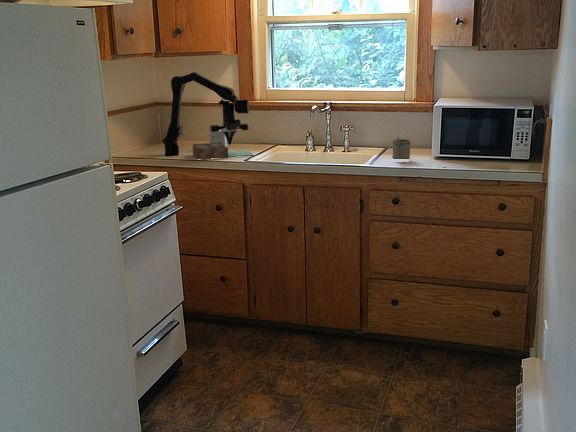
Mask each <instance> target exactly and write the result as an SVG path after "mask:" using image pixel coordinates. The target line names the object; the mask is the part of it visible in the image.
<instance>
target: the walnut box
mask: <svg viewBox="0 0 576 432" xmlns="http://www.w3.org/2000/svg"><path fill="white" fill-rule="evenodd" d="M228 152H229V147H228V146H227V147H226V146H224V145H223V144H222V143H209V142H208V143H194V144H192V155H193V157H194V158H195V157H196V158H197V159H211V158H228ZM196 158H195V159H196ZM197 159H196V160H197ZM228 159H229V158H228Z"/></svg>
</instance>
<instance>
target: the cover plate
mask: <svg viewBox="0 0 576 432" xmlns="http://www.w3.org/2000/svg"><path fill="white" fill-rule="evenodd" d="M237 156H254V157H255V154H254V153H252V152H251V151H250V150H249V149H248V150H247V149H246V150H232V151H228V157H237ZM237 158H238V157H237Z"/></svg>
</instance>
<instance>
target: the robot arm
mask: <svg viewBox="0 0 576 432" xmlns="http://www.w3.org/2000/svg"><path fill="white" fill-rule="evenodd" d="M191 82H195V83H197V84H199V85H201V86H202V87H204V88H207V89H209V90H211V91H213V92H214V93H215V94H216V95H218V97H219V98H221V99H220V101H218V105H221V106H222V125H219V124H210V125H209V132H210V131H211V132H218V131H219V130H222V131H221V132H222V133H224V135H225V136H226V139H227V145H228V146H231V144H232V141H233V138H234V136H235V133H238V130H239V129H240V130H242V131H248V130H249V124H247V123H246V122H245V123H244V122H243V123H241V119H236V118H235V112H236V113H237V114H250V105H249V104H250V103H249V99H247V98H246V99H239V98H238V97H237V96H236V95H235V91H234V89H233V88H232V87H229V86H226V85H222V84H219V83H217V82H215V81H213V80H211V79H209V78H207V77H206V76H203V75H201V74H199V73H198V72H197V71H193V72H190V73H189V74H185V75H176V76H173V77H171V80H170V86H171V87H170V88H171V91H172V101H171V102H172V104H171V115H170V123H169V125H168V128H167V131H166V135H165V137H164V138H163V139H162V143H163V145H164V156H166V157H173V156H174V155H175V156H179V154H180V148H179V147H180V146H179V145H178V141H179V139H180V138H181V136H182V135H184V134H183V128H184V126H183V125H181V124H180V123H181V122H180V120H181V119H180V118H181V109H182V108H181V106H182V97H183V92H184V90H185V87H186V84H188V83H191Z"/></svg>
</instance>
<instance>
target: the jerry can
mask: <svg viewBox="0 0 576 432" xmlns="http://www.w3.org/2000/svg"><path fill="white" fill-rule="evenodd" d="M411 142H412V140H409V139H403V138H402V139H401V138H400V137H395V139H393V140H392V157H391V159H392V158H393V159H409V158H410V159H411V157H410V156H411Z"/></svg>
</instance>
